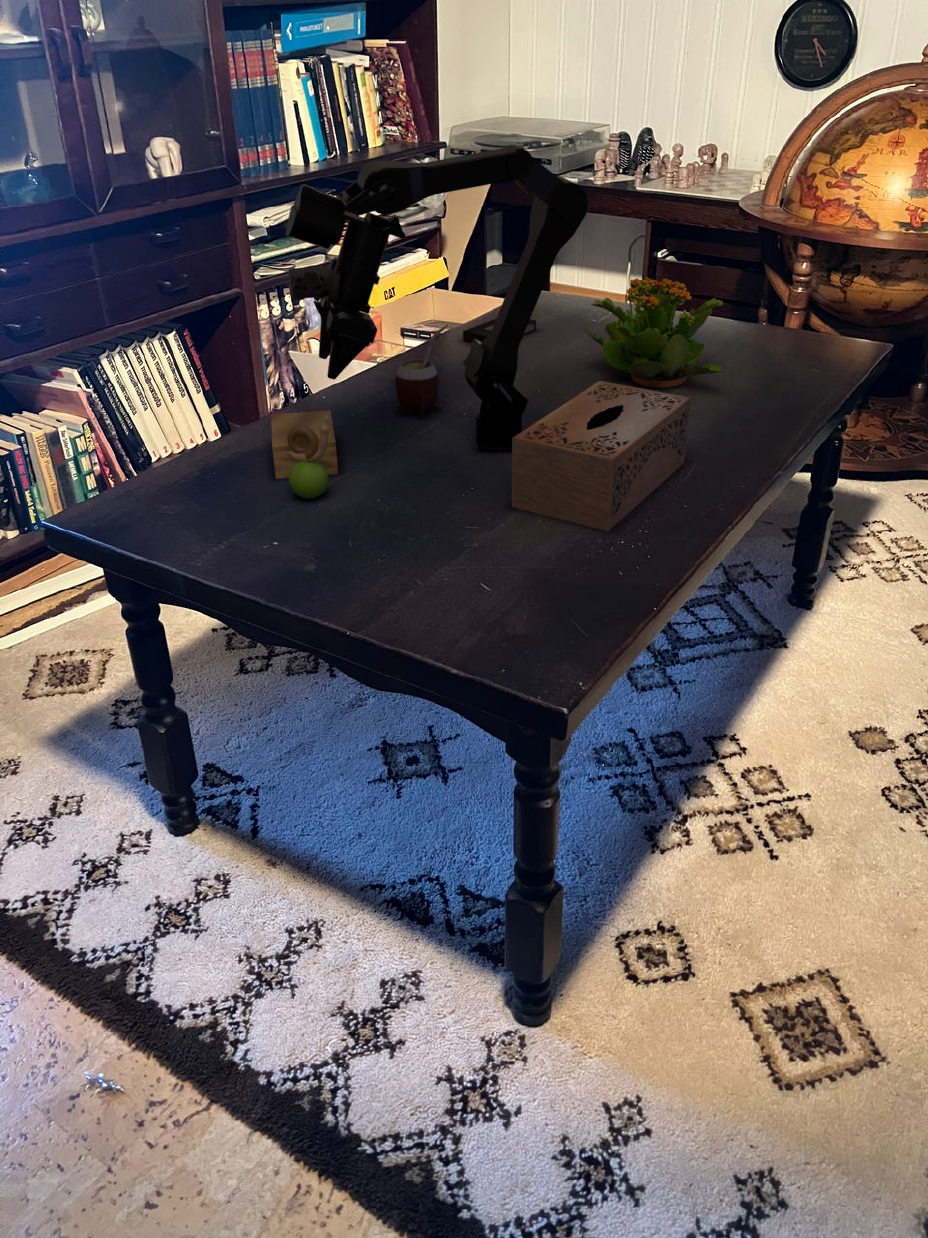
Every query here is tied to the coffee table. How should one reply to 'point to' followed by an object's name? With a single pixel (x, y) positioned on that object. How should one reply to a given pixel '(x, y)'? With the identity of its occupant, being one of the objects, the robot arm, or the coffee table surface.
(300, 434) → the snail figurine
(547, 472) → the tissue box cover
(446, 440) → the coffee table surface
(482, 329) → the vhs tape
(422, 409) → the mate gourd
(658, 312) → the potted flower
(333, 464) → the tan rectangular block
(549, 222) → the robot arm
